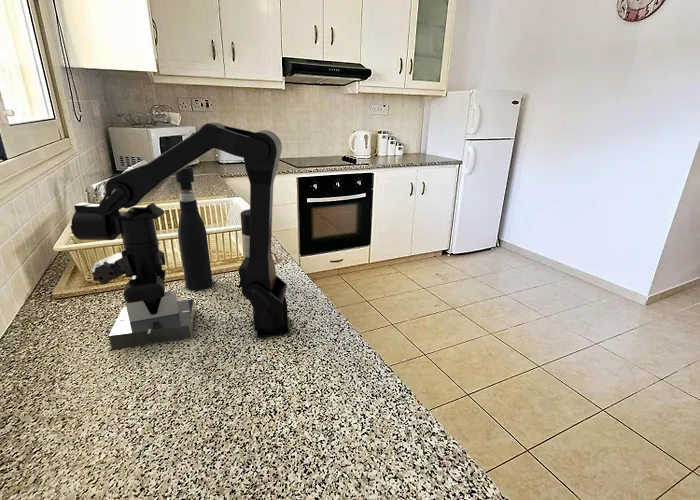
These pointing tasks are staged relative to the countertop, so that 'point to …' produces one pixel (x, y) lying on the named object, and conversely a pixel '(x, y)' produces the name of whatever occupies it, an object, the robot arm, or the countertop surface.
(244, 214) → the spray can
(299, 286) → the countertop surface
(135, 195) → the robot arm
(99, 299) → the countertop surface
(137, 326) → the block
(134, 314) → the knob
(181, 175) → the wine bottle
